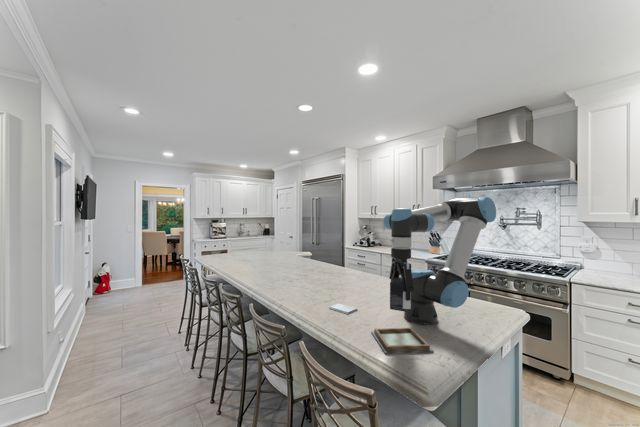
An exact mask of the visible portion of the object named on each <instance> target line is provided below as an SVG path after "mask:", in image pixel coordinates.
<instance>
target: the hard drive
mask: <svg viewBox="0 0 640 427" xmlns="http://www.w3.org/2000/svg"><path fill="white" fill-rule="evenodd" d="M328 308H329V309H330V310H333V311H335V312H339V313H343V314H345V315H350V314H353V313H355V312H358V308H356V307H352V306H349V305H346V304H344V303H343V304H342V303H339V302H338V303H336V304H333V305H331V306H329V307H328Z"/></svg>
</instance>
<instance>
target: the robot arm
mask: <svg viewBox="0 0 640 427" xmlns="http://www.w3.org/2000/svg"><path fill="white" fill-rule="evenodd" d="M496 217H497V206H496V205H495V202H494V200H493V199H492V198H491V197H488V196H475V197H457V198H453V199H450V200H444V201H440V202H438V203H436V205H432V206H426V207H421V208H417V209H413V210H412V209H411V208H393V209H392V211H391V213H388V214H386V215H384V218H383V226H384V227H385V229H387V230H390V231H391V239H390V242H391V249H390V251H391V252H390V256H391V267H390V272H389V280H390V282H391V281H392V280H393V279H394V278H395V277H401V278H402V282H403V287H404V289H403V290H402V291H403V309H407V311H406V312H405V311H403V317H404V319H406V320H407V321H408V322H411V323H413V324H420V325H434V324H436V323H438V320H439V319H438V313H437V309H436V307H435V303H437V304H440V305H442V306H444V307H449V308H452V309H453V308H454V309H455V308H456V309H457V308H459V307H461V306H463V305H464V304H465V303H466V301H467V300H468V297H469V287H468V284H466V283H467V280H466V278H465V273H466V271H467V268H468V265H469V263H470V260H471V257H472V255H473V252H474V249H475V246H476V244H477V241H478V237H479V236H480V235H479V234H480V233H481V230H484V229H486V227H487V224H488V223H493V222H494V221H495V220H496ZM438 221H441V222H446V221H456V222H459V223H460V224H459V227H458V231H457V232H456V235H455V238H454V241H453V243H452V246H451V248H450V250H449V253H448V256H447V258H446V261H445V264H444V267H443V268H440V269H438V271H437V274H436V275H435V271H434V270H431V269H417V270H416V269H414V270H412V263H408V260H409V259H410V260H411V258H412V249H411V248H412V233H427V232H431V231H432V230H433V229H434V226H435V222H438Z"/></svg>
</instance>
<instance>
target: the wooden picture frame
mask: <svg viewBox="0 0 640 427" xmlns="http://www.w3.org/2000/svg"><path fill="white" fill-rule="evenodd" d="M370 333H371V334H372V336H373V337H374V338H375V340H376V343H378V346H379V347H380V348H381V350H382V351H383V353H384V354H385V355H399V354H407V355H408V354H428V353H429V354H430V353H431V354H432V353H433V354H434V352H435V351H434V350H433V349H432V348H431V347H430V344H429V343H428V342H427V341H426V340H425V339H424V338H423V337H422V336H420V334H418V332H416V330H415V329H413V328H412V327H387V328H385V327H384V328H383V327H381V328H380V327H379V328H374V330H371V332H370Z"/></svg>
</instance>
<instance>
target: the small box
mask: <svg viewBox="0 0 640 427" xmlns="http://www.w3.org/2000/svg"><path fill="white" fill-rule="evenodd" d="M403 289H404V287H403V282H402V278H401V276H399V277H395V278H394V279H393V280H392V281H391V280H390V282H389V310H392V311H393V310H394V311H399V312H404V311H405V312H406V311H407V309H403V291H402V290H403Z"/></svg>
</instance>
